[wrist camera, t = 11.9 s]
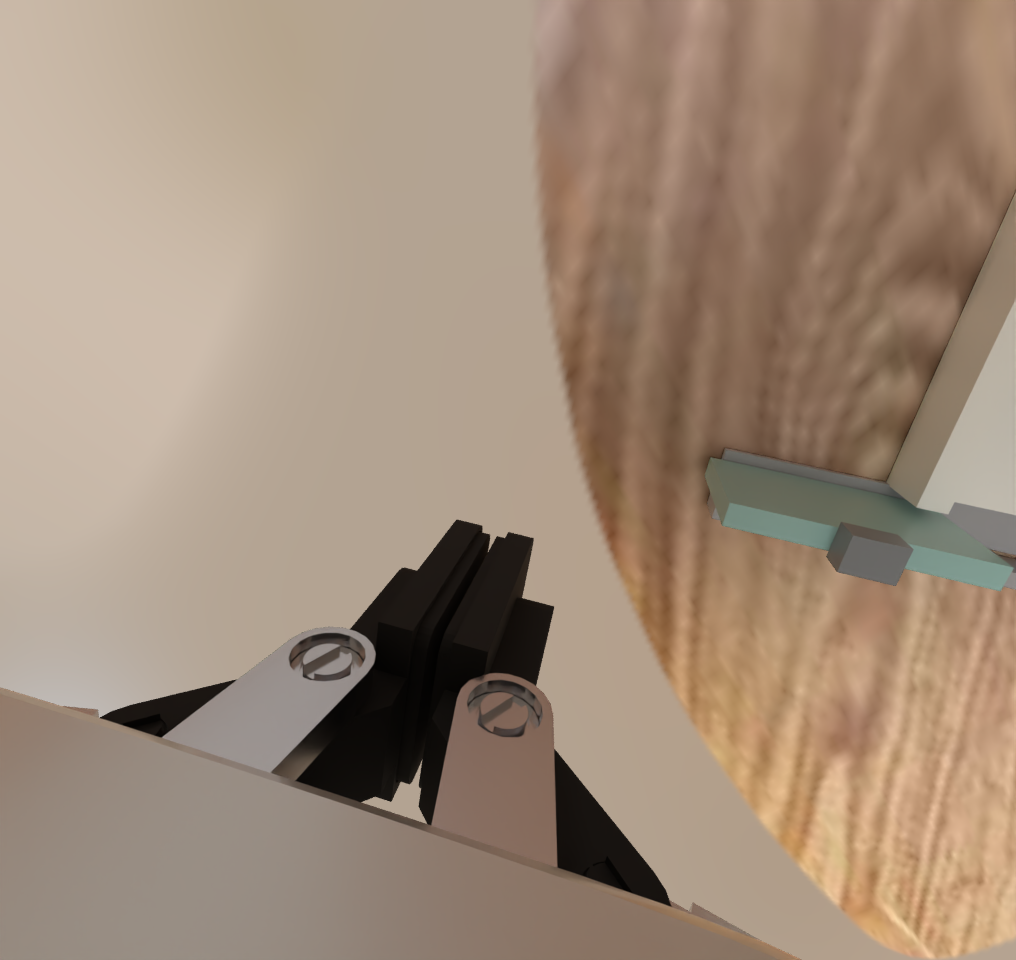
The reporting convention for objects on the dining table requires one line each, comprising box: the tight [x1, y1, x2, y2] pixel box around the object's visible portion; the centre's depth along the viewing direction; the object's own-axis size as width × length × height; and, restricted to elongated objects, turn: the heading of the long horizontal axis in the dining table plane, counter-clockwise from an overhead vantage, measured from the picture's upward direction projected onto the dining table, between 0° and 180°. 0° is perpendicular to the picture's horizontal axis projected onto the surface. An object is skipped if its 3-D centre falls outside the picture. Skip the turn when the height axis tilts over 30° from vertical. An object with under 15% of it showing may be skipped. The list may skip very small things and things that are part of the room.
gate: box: [705, 457, 1014, 591], centre depth 18 cm, size 8×1×6 cm, turn 80°
